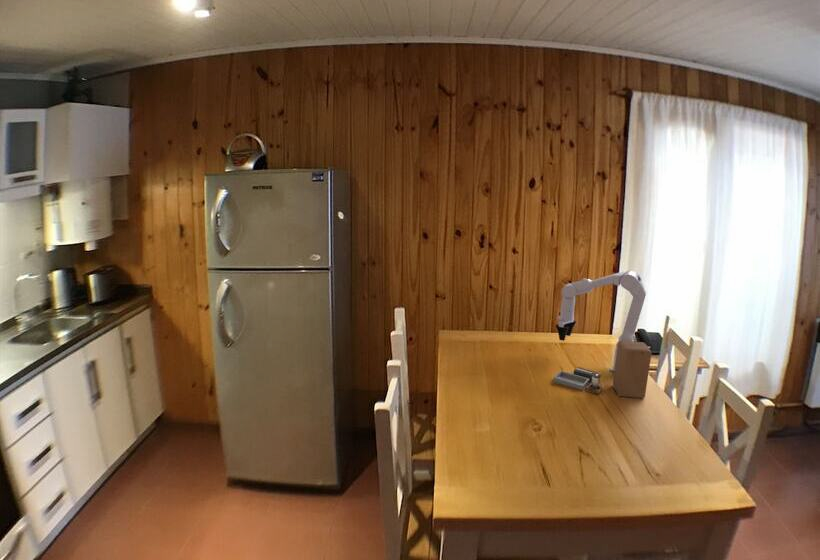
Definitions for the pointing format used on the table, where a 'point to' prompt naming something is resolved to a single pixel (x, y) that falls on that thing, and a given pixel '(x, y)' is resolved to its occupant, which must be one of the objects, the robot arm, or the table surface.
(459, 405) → the table surface
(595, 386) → the pin
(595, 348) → the table surface
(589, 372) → the block
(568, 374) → the tray
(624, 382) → the wooden block
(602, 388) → the collar
